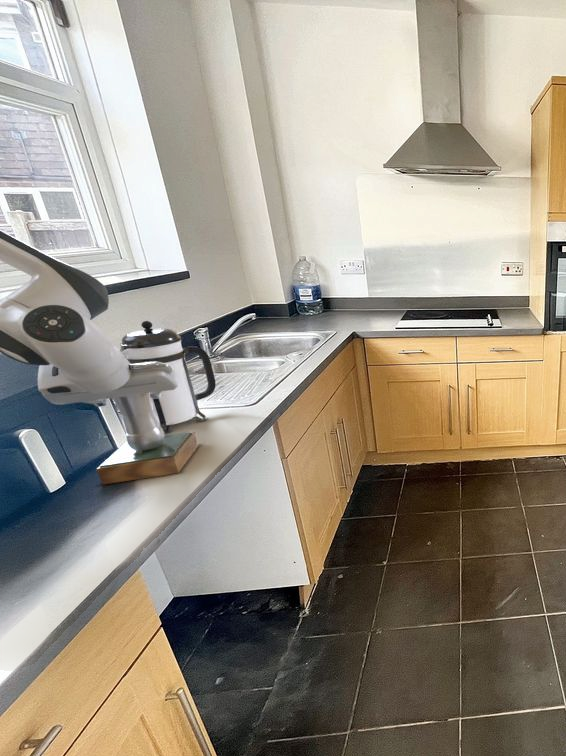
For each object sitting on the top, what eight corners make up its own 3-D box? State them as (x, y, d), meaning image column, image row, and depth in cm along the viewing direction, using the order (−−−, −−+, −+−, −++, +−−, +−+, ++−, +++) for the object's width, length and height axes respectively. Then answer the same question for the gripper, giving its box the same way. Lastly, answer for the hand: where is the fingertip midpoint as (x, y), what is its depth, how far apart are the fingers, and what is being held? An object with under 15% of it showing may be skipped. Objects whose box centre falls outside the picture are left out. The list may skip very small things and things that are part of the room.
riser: (102, 484, 91) (95, 467, 89) (131, 455, 103) (126, 439, 102) (178, 472, 95) (173, 456, 94) (198, 445, 108) (194, 430, 106)
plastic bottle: (166, 449, 97) (140, 367, 90) (128, 457, 93) (98, 373, 87) (168, 438, 102) (144, 360, 95) (132, 446, 98) (104, 365, 92)
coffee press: (196, 431, 116) (166, 325, 106) (129, 436, 112) (92, 327, 102) (223, 407, 132) (199, 313, 121) (166, 411, 128) (136, 315, 118)
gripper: (166, 349, 86) (186, 379, 98) (28, 362, 77) (68, 394, 88) (167, 375, 84) (188, 403, 95) (25, 392, 75) (67, 421, 86)
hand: (129, 399), depth 92 cm, fingers open, 8 cm apart
